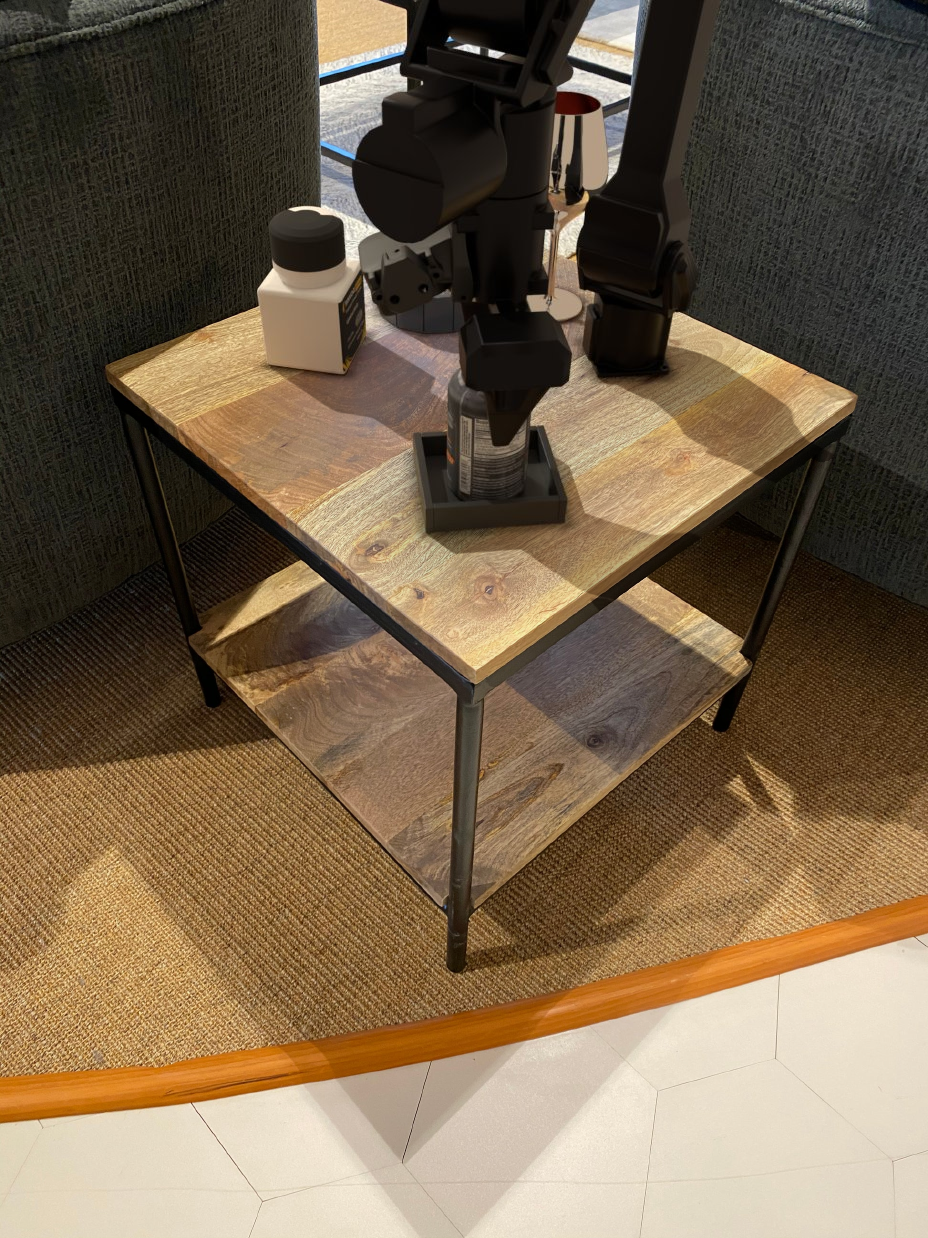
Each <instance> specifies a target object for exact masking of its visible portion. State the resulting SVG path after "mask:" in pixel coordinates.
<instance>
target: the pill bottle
mask: <svg viewBox="0 0 928 1238" xmlns="http://www.w3.org/2000/svg"><path fill="white" fill-rule="evenodd" d="M446 392H447V394H446V395H447V396H446V397H447V398H446V399H447V400H446V402H447V403H446V417H447V418H446V431H447V482H448V485H449V487H450V489H451V491H452V492H453V493H454V494H455V495H456V496H457V497H459V498H460V499H462V500H464V501H479V500H494V499H509V498H516V497H517V496H518V495H519V494H520V493H521V492H522V491H523V489H524V486H525V483H526V472H527V464H528V449H529V436H530V426H531V421H532V412H531V413H530V415H529V416H528V418H527V419H526V421H525V422H524V424H523V425H522V427H521V428H520V429H519V431H518V432H517V434H516V435H515V437H514V438H513V440H512V441H511V442H510V444H509V445H508V446H501V447H494V446H493V445H492V441H491V435H490V430H489V424H488V417H487V411H486V405H485V399H484V393H483V392H481V391H477V392H476V391H474V390H472V389H469V388H467V387H465V383H464V380H463V375H462V371H461V367H459V368H458V369H456V371H454V372H453V374H452V375H451V377H450V378H449V381H448V384H447V391H446Z"/></svg>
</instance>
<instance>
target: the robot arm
mask: <svg viewBox="0 0 928 1238" xmlns="http://www.w3.org/2000/svg"><path fill="white" fill-rule="evenodd" d="M595 2H596V0H420V3H419V6H418V9H417V13H416V15H415V18H414V20H413V24H412V27H411V30H410V33H409V36H408V39H407V43H406V46H405V49H404V52H403V54H402V58H401V61H400V64H399V69H398V70H399V75H400V76H401V77H403V78H407V79H410V80H415V81H420V82H422V84H421V85H419V86H417V87H414V88H412V89H410V90H407V91H396V92H393V93H391V94H389V95H387V96H385V97H383V99H382V100H381V124H380V125H377V126H375V127H374V128H371V129H370V130H368V131H367V132H366V133H365V134H364V136H362V137H361V140H360V142H359V144H358V146H357V148H356V152H355V156H354V160H353V161H352V162H351V177H352V183H353V190H354V193H355V195H356V198H357V201H358V203H359V205H360V207H361V208H362V210H363V212H364V214H365V216H366V217H367V219H368V220H369V221H370V222H371V224H372V225H373V226H374V227H375V228H376V229H377V230H378V231H377V232H375V233H372V234H370V235H368V236H366V237H364V238H363V239H362V240H361V241H360V242H359V244H358V245H357V251H358V258H359V259H358V260H359V261H360V267H361V271H362V273H363V279H364V281H365V283H366V284H367V287H368V289H369V291H370V297H371V301H372V303H373V304H374V305H376V307H377V309H378V312H379V311H380V313H379V315H380V314H382V315H384V316H393V315H396V314H400V313H403V312H406V311H408V310H411V309H414V308H416V307H419V306H421V305H424V304H427V303H429V302H431V301H432V299H433V297H434V296H437V295H439V294H444V293H445V292H447V290H448V291H449V294H450V295H451V299H452V303H454V302H460V305H461V310H462V315H463V321H464V325H463V326H462V327H460V328H459V330H458V340H457V341H458V343H457V344H458V345H457V346H458V357H459V358H458V362H459V366H460V367H459V368H461V371H462V375H463V380H464V383H465V387H467V388H469V389H472V390H474V391H476V392H477V391H481V392H483V393H484V399H485V405H486V411H487V417H488V424H489V430H490V435H491V441H492V445H493V446H494V447H501V446H508V445H509V444H510V442H511V441H512V440H513V438H514V437H515V435H516V434H517V432H518V431H519V429H520V428H521V427H522V425H523V424H524V422H525V421H526V419H527V418H528V416H529V415H530V413H531V414H532V412H533V411H534V410H535V408H536V406H537V405H538V404H539V403H540V401H541V400H542V399H543V398H544V397H545V396H546V395H547V393H548V392H549V390H550V389H552V388H553V389H554V388H562V387H564V386H565V385H567V383H569V382H570V378H571V369H572V360H573V352H572V349H571V347H570V344H569V341H568V339H567V336H566V334H565V332H564V328H563V326H562V323H560V322H558V321H557V320H556V319H555V318H554V317H553V316H552V315H551V314H550V313H549V312H548V311H537V312H531V309H530V306H529V303H528V301H527V295H548V286H549V278H548V275H547V271H546V269H545V266H544V263H543V262H544V253H545V251H544V250H545V239H546V231H548V230H554V219H555V211H554V209H553V207H552V205H551V203H550V200H549V198H548V194H549V180H550V168H551V156H552V144H553V132H554V120H555V108H556V96H557V91H558V87H560V86H561V85H564V84H565V83H567V82H569V81H570V80H571V79H572V78H573V76H574V71H575V70H574V67H573V65H571V63H570V61H569V60H568V59H567V57H568V56H569V53H570V51H571V49H572V47H573V44H574V42H575V40H576V39H577V37H578V35H579V33H580V32H581V30H582V27H583V25H584V23H585V21H586V19H587V18H588V16H589V13H590V11H591V9H592V8H593V6H594V4H595ZM720 4H721V0H649V5H648V10H647V14H646V15H647V16H646V20H645V24H644V25H645V26H644V31H643V36H642V41H641V46H640V52H639V56H638V62H637V67H636V72H635V78H634V83H633V87H632V93H631V98H630V103H629V108H628V109H629V110H628V113H627V119H626V124H625V128H624V133H623V140H622V144H621V150H620V154H619V159H618V164H617V169H616V171H615V173H614V174H613V175H612V176H611V177H610V178H609V180H607V183H606V185H605V186H604V187H603V188H602V190H601V191H600V192H599V193H598V194H597V195H592V196H591V198H590V199H589V200H588V202H587V203H586V206H585V212H584V213H583V214H584V215H583V222H582V223H583V224H582V226H581V228H580V231H579V232H578V236H577V239H576V243H575V256H576V267H577V268H576V269H577V279H578V288H579V290H582V291H585V292H586V291H588V292H591V293H594V296H593V303H589V304H588V305H587V306H586V310H585V311H586V312H585V320H584V327H583V335H582V345H581V346H582V348H583V351H584V353H585V357H586V359H587V361H589V362H590V363H591V365H592V368H593V370H594V372H595V375H596V377H598V378H600V379H613V378H615V379H616V378H632V377H646V376H647V377H651V376H652V377H653V376H667V375H669V374H670V372H671V366H670V364H669V362H668V360H667V358H666V354H667V349H668V345H669V344H668V343H669V339H670V334H671V327H672V322H673V318H674V314H675V313H676V314H678V313H685V312H688V311H689V310H690V307H691V302H692V298H693V294H694V293H695V290H696V289H697V281H698V279H699V278H698V277H699V274H700V270H699V267H698V265H697V263H696V260H695V259H694V255H693V253H692V251H691V248H690V246H689V244H688V239H689V233H690V228H691V223H692V212H691V208H690V206H689V202H688V198H687V195H686V193H685V188H684V184H683V182H682V179H681V174H682V168H683V165H684V161H685V156H686V152H687V148H688V143H689V139H690V135H691V130H692V126H693V121H694V118H695V117H694V116H695V113H696V109H697V105H698V100H699V97H700V91H701V88H702V87H701V86H702V84H703V83H702V82H703V78H704V74H705V70H706V66H707V60H708V57H709V53H710V48H711V43H712V39H713V35H714V30H715V26H716V22H717V18H718V15H719V9H720V6H721V5H720ZM449 39H451V40H452V41H455V42H458V43H460V44H464V45H468V46H471V47H472V46H473V47H477V48H482V49H486V50H490V51H494V52H499V53H501V54H502V53H503V54H502V55H500V56H498V57H493V56H489V55H485V54H480V53H476V52H472V51H468V50H463V49H459V48H455V47H451V46H448V45H447V46H446V44H447V42H448V41H449Z"/></svg>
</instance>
